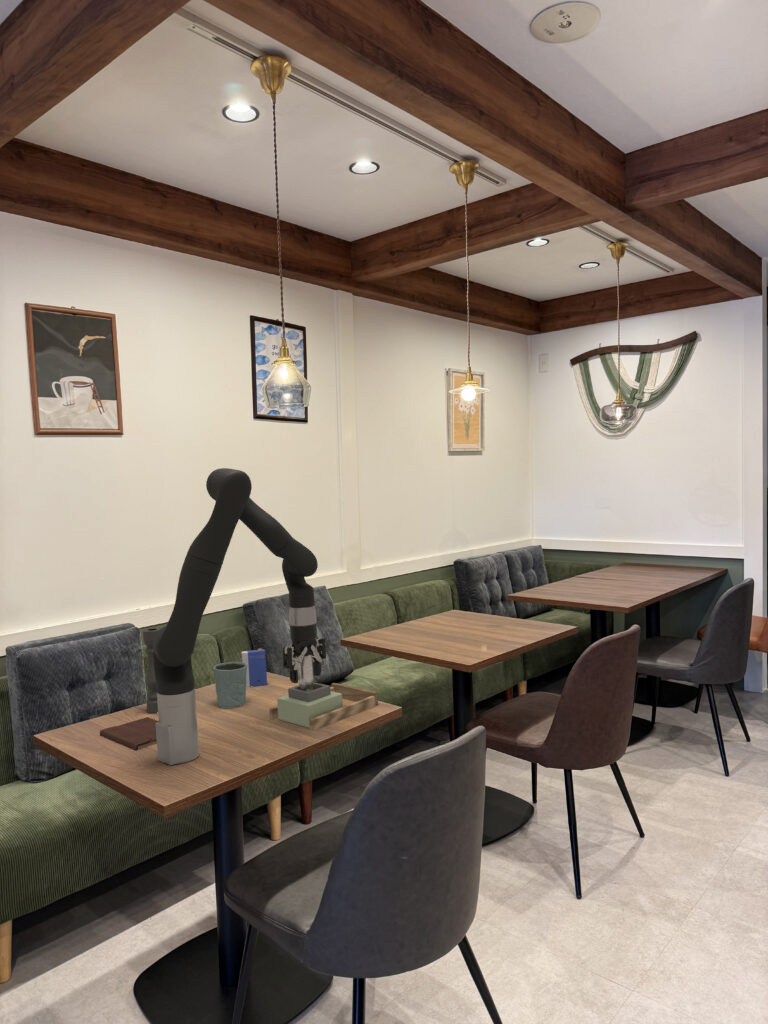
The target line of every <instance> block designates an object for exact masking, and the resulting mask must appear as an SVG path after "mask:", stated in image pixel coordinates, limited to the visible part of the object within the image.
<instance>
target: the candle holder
mask: <svg viewBox="0 0 768 1024" xmlns="http://www.w3.org/2000/svg"><path fill="white" fill-rule="evenodd" d="M161 628H162V627H149V628H145V629H142V640H143V642H144V645H145V647H146V648H145V649H144V653H145V654H146V655H147V667H146V673H145V681H144V683H145V686H146V687H147V688H148V693H147V695H146V698H147V699H146V712H147V714H158V713H157V712H158V701H157V687H156V680H155V672H154V659H153V639H154V636H155V634H156V633H157V632H158V631H159V630H160V629H161Z"/></svg>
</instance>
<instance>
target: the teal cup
mask: <svg viewBox="0 0 768 1024" xmlns="http://www.w3.org/2000/svg"><path fill="white" fill-rule="evenodd" d="M246 673H247V664H246V663H242V661H229V662H227V661H226V662H223V663H222V662H221V663H218V664H216V665H214V666H213V674H214V684H215V693H216V702H217V706H218V707H219V706H220V707H219V708H221V707H226V708H225V709H228V708H227V707H235V706H239V707H241V706H240V705H242V706H244V705H245V704H246V701H247V700H246V699H247V695H246V694H247V687H246ZM243 704H244V705H243ZM235 708H236V707H235Z"/></svg>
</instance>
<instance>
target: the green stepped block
mask: <svg viewBox="0 0 768 1024" xmlns="http://www.w3.org/2000/svg"><path fill="white" fill-rule="evenodd" d="M313 682H314V681H313ZM330 687H331V685H327V684H323V683H317V682H314V690H312V691H309V692H308V691H304V690H300V687H299V684H298V685H295V686H291V687H289V688H288V689H287V691H288V694H285V695H283V696H279V697H276V698H277V699H276V704H277V705H276V706H278V718H277V719H278V720H281V721H283V722H287V723H291V724H294V725H298V726H302V727H306V728H308V729H310V719H313V718H315V717H318V716H320V715H323V714H326V713H328V712H331V711H333V710H336V709H339V708H341V707H344V703H343V702H344V701H343V700H344V699H343V698H342V694H341V693H336V692H332V691H330Z"/></svg>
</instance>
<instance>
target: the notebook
mask: <svg viewBox="0 0 768 1024" xmlns="http://www.w3.org/2000/svg"><path fill="white" fill-rule="evenodd" d="M157 722H159V720H156V719H154V718H152V717H148V716H146V717H142V718H140V719H136V720H132V721H130V722H126V723H123V724H120V725H114V726H109V727H107V728H104V729H101V730H100V731H99V736H101V737H103V738H106V739H108V740H110V741H113V742H115V743H117V744H120V745H122V746H125V747H127V748H129V749H132V750H134V751H138V750H142V749H145V748H148V747H151V746H153V745H157V739H156V723H157Z"/></svg>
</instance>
